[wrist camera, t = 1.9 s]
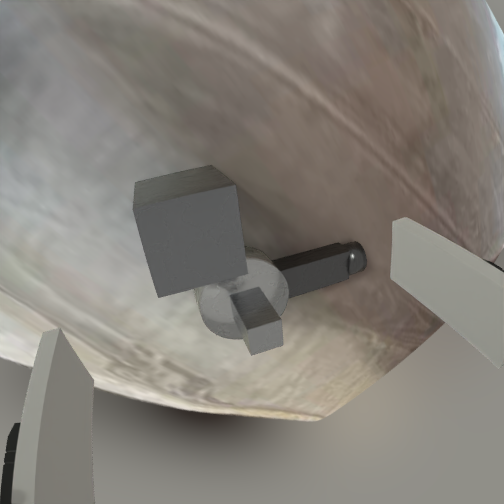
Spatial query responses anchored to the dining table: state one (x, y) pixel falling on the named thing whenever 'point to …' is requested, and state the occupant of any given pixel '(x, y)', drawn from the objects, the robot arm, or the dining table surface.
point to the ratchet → (272, 291)
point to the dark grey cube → (190, 229)
